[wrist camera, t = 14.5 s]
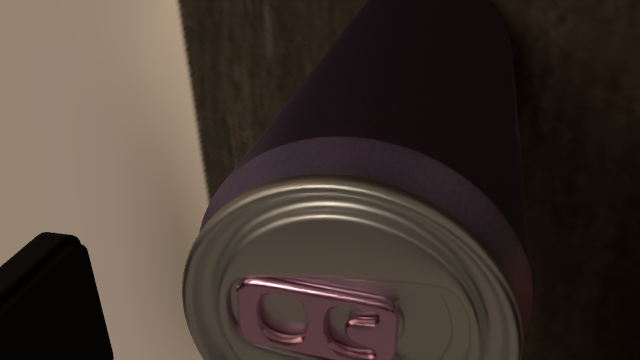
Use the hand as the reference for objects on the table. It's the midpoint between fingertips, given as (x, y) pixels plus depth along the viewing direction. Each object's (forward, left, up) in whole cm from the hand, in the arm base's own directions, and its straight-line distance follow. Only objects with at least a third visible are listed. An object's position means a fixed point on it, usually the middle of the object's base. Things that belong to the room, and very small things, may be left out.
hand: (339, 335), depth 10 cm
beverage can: (0, 0, -15) cm, 15 cm away
